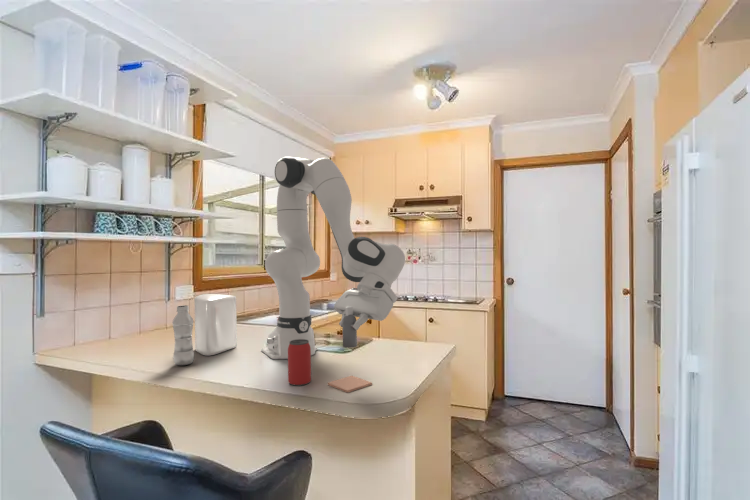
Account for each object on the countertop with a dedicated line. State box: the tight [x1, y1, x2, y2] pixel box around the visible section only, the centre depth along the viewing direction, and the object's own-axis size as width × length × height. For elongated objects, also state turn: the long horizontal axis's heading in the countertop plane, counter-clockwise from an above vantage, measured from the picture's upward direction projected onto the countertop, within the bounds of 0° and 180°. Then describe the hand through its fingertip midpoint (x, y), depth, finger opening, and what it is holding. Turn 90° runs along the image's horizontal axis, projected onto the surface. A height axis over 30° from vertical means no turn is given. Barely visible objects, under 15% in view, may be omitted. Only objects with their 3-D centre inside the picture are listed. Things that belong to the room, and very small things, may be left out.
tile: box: [327, 375, 373, 393], centre depth 115 cm, size 9×9×1 cm
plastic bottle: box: [172, 304, 195, 366], centre depth 137 cm, size 6×7×20 cm
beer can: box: [287, 339, 312, 386], centre depth 117 cm, size 7×7×12 cm
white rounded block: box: [194, 293, 238, 357], centre depth 156 cm, size 15×14×22 cm
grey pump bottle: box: [341, 307, 358, 348], centre depth 115 cm, size 4×4×11 cm
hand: (347, 327), depth 114 cm, fingers closed on grey pump bottle, 4 cm apart
